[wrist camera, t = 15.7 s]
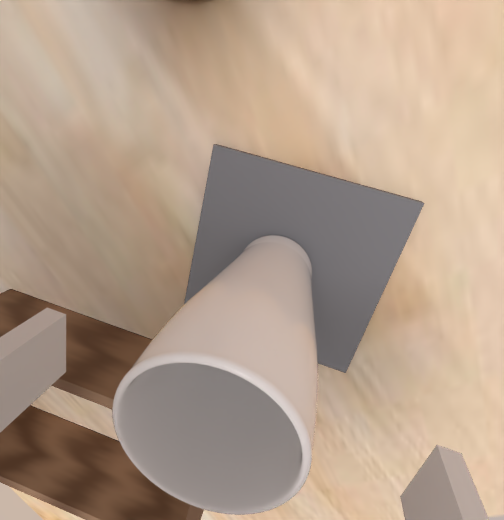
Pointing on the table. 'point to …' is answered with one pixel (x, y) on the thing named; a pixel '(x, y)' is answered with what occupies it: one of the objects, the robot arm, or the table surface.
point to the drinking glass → (229, 387)
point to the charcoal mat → (306, 237)
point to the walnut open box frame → (81, 429)
